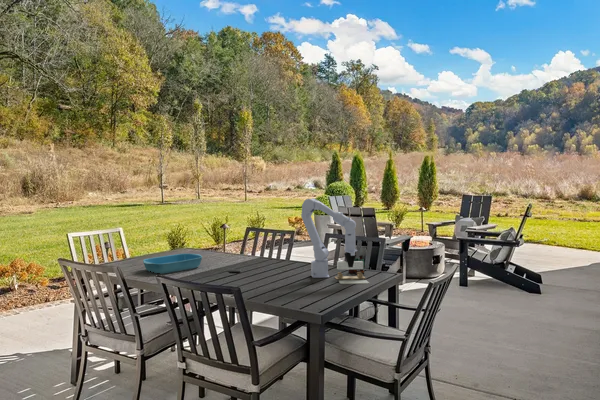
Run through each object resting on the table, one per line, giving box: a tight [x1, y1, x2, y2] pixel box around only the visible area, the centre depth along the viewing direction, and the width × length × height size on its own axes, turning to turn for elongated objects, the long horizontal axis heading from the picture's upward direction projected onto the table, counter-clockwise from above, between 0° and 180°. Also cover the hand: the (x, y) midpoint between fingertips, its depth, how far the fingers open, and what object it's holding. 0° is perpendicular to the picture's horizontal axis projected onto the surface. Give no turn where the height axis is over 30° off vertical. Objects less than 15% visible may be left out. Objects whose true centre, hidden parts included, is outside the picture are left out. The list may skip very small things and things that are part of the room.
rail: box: [336, 260, 364, 270], centre depth 237 cm, size 14×3×4 cm, turn 94°
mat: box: [338, 279, 370, 285], centre depth 227 cm, size 15×6×1 cm, turn 95°
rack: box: [334, 271, 366, 280], centre depth 237 cm, size 16×5×3 cm, turn 95°
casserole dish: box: [142, 252, 203, 275], centre depth 262 cm, size 37×22×7 cm, turn 139°
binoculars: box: [348, 254, 366, 275], centre depth 250 cm, size 9×11×10 cm
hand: (350, 266), depth 237 cm, fingers closed on rail, 3 cm apart
